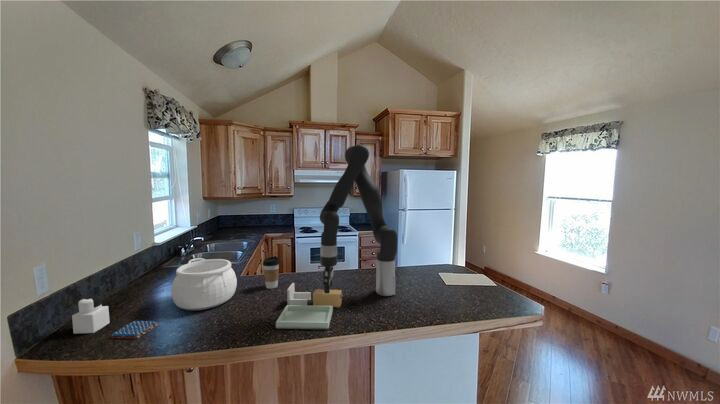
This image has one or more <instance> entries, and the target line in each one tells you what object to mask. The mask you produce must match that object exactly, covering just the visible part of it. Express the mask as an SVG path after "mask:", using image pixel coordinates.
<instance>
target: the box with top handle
mask: <svg viewBox="0 0 720 404" xmlns="http://www.w3.org/2000/svg"><path fill="white" fill-rule="evenodd" d="M312 295H313V296H312V299H313V301H312V302H313V303H312V305H321V306H333V308H340V307H341V305H342V299H343V292H342V289H330V292H329V293H324V289H322V288H321V289H320V288H318V289H317V288H316V289H315V290H314V292H313V294H312Z"/></svg>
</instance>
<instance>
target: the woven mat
mask: <svg viewBox="0 0 720 404" xmlns="http://www.w3.org/2000/svg"><path fill="white" fill-rule="evenodd" d="M158 325H159V321H158V320H134V321H131V322H130V323H128V324H126V325H124V326H123V327H121V328H120V329H118V330H117V331H115V332H113V333H112V334H111V335H110V338H112V339H137V340H138V339H139V338H140V337H142V336H143V335H145V334H146V333H147V332H150V331H151V330H152V329H154V327H157V326H158Z"/></svg>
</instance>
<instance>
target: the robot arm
mask: <svg viewBox="0 0 720 404" xmlns="http://www.w3.org/2000/svg"><path fill="white" fill-rule="evenodd" d="M369 157H370V151H369V149H368V147H367V146H365V145H363V144H356V145H352V146H349V147H348V148H347V149H346V150H345V153H344V158H345V162H346V164H347V166H346V169H345V170H344V172H343V174H342V175H341V177H340V178H339V180H337V182H336V184H335V186H334V188H333V190H332V192H331V194H330V197H329V198H328V201H327V202H326V203H325V205H324V206H323V208H322V210H321V212H320V214H319V221H320V223H321V224H323V231H322V232H321V234H320V252H319V253H320V256H319V257H320V259H319V260H320V263H319V264H320V265H321V266H322V267H324V269H323V278H322V279H323V280H322V285H323V287H324V293H329V292H330V290H331V287H332V285H333V277H334V267H335V266H336V265H337V264H338V245H337V241H338V239H337V238H338V237H337V235H338V231H339V225H340V216H339V214H338V211H339V210H340V209H341V208H342V207H343V206H344V205H345V204H346V200H347V198H348V196H349V194H350V191H351V190H352V187H353V185H354V183H355V185H356V188H357V190H358V193H359V196H360V199H361V201H362V205H363V207H364V209H365V211H366V216H367V217H368V219H369V220H368V221H370V226H371V230H372V234H373V238H374V240H375V242H377V244H379V245H380V247H379V248H380V250H379V252H377V253H376V273H375V274H376V275H375V276H376V280H375V281H376V284H375V285H376V287H375V288H376V294H377V295H378V296H383V297H390V296H396V255H397V252H398V234H397V231H396V230H395V229H394V228H391V227H388V225H387V223H386V221H385V218H384V215H383V199H382V196H381V193H380V189H379V188H378V186H377V184H376V183H375V181H374V180H373V179H372V177H371V176H370V175H369V173H368V171H367V168H366V163H367V162H368V160H369Z"/></svg>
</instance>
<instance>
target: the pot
mask: <svg viewBox="0 0 720 404" xmlns="http://www.w3.org/2000/svg"><path fill="white" fill-rule="evenodd" d="M237 285H238V280H237V276H236V273H235V271H234V269H233V268H232V262H231V261H230V260H227V259H223V258H211V259H205V258H202V257H195V258H193V259H190V260H189V261H188V262H187V263H185V264H183V265H180V266H179V267H178V268H177V269H176V271H175V278H174V279H173V283H172V284H171V291H170V292H171V298H172V301H173V303H174V304H175V305H176V306H177V307H178V308H180V309H181V310H184V311H185V310H186V311H203V310H207V309H211V308H212V309H213V308H215V307H218V306H221V305H222V304H224V303H226V302H228V301H230V299H231V298H232V297H233V296H234V295H235V292H236V289H237Z"/></svg>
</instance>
